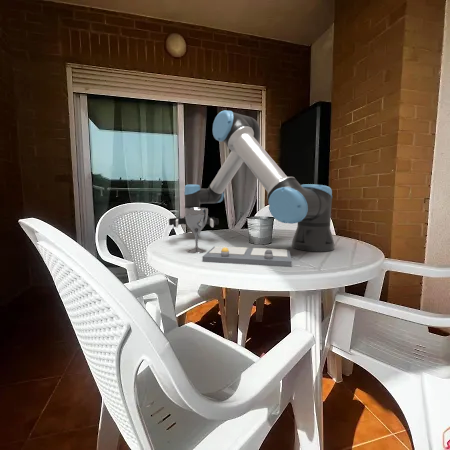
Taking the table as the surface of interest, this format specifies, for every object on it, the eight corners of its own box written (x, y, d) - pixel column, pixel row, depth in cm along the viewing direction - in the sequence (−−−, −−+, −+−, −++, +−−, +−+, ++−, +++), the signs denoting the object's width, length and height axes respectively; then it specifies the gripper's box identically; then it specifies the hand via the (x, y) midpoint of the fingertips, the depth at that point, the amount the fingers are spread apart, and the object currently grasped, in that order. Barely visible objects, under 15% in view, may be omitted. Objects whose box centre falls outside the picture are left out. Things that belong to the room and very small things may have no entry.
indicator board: (289, 254, 90) (289, 242, 90) (291, 266, 76) (291, 252, 75) (214, 250, 95) (214, 239, 95) (202, 261, 81) (202, 248, 80)
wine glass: (183, 253, 91) (182, 209, 90) (187, 248, 99) (187, 207, 97) (206, 253, 91) (206, 209, 89) (209, 248, 99) (208, 207, 97)
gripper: (219, 226, 126) (227, 233, 105) (165, 226, 122) (161, 234, 102) (219, 210, 125) (227, 214, 104) (165, 210, 121) (161, 214, 101)
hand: (194, 224), depth 103 cm, fingers open, 13 cm apart
